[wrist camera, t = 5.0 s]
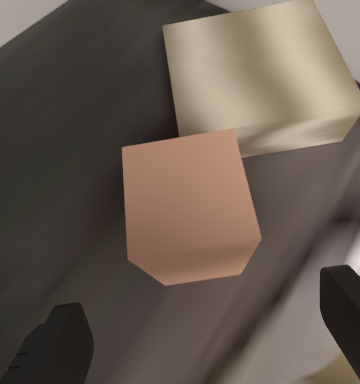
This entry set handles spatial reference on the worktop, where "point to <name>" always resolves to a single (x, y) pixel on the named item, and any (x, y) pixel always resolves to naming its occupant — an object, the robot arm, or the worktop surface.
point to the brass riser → (262, 78)
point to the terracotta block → (189, 208)
